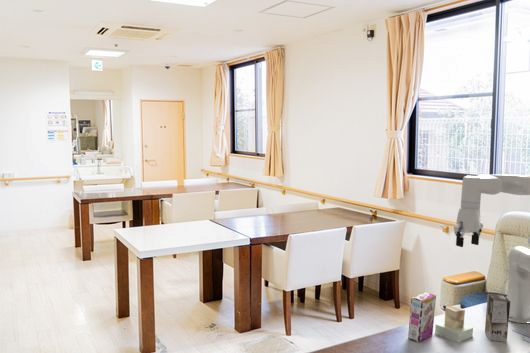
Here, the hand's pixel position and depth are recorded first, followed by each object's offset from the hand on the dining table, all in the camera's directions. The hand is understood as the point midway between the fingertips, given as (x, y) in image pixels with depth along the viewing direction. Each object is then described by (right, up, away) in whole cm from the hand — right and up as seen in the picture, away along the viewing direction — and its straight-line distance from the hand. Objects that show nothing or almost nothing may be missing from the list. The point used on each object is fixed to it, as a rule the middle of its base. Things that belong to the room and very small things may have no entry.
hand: (467, 245), depth 210 cm
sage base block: (-11, -34, -14) cm, 38 cm away
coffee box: (+5, -34, -14) cm, 38 cm away
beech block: (-11, -30, -14) cm, 35 cm away
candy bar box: (-25, -33, -17) cm, 45 cm away
